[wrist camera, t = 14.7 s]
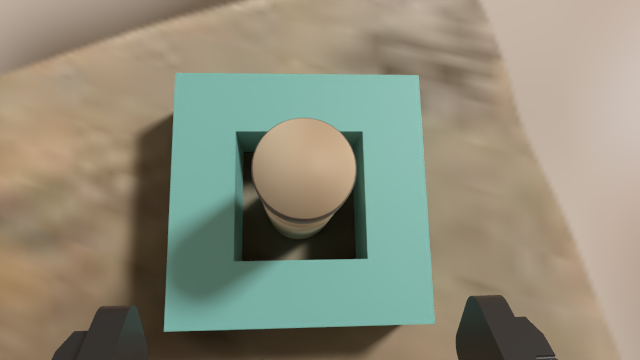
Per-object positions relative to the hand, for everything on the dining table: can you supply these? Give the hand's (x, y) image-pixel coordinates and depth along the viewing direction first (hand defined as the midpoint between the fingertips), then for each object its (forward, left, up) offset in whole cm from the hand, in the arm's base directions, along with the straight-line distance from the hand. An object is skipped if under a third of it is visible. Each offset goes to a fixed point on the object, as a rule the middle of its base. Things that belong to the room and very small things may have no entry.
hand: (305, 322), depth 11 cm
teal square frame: (0, +4, -11) cm, 12 cm away
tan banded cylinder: (0, +4, -11) cm, 12 cm away
